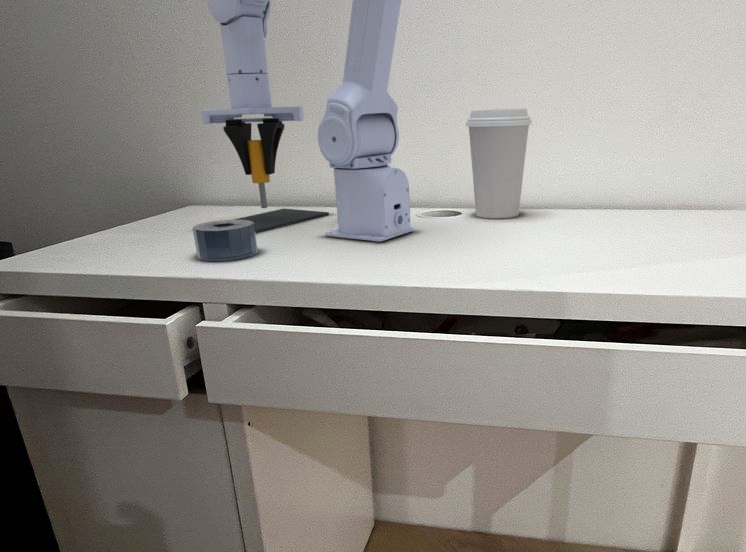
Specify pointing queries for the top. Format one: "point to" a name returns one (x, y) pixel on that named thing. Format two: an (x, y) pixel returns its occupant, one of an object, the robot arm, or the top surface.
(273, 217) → the mat
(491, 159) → the coffee cup
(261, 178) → the screwdriver
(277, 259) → the top surface
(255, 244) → the squat holed cylinder
